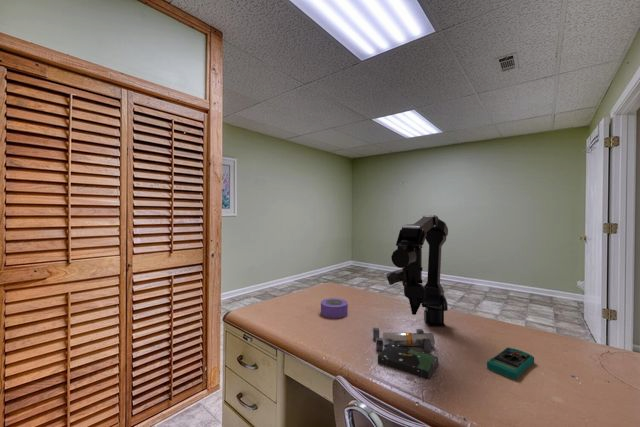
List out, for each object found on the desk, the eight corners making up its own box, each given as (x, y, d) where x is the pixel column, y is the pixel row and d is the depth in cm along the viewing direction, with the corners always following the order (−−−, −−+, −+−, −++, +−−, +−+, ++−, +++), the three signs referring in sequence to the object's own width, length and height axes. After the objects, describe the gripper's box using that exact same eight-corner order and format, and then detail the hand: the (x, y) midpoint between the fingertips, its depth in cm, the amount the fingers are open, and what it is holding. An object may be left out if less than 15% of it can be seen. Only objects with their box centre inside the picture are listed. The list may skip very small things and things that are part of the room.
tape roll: (352, 312, 125) (352, 300, 125) (339, 320, 115) (339, 308, 115) (329, 307, 131) (329, 296, 131) (315, 315, 121) (315, 303, 121)
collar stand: (422, 338, 98) (422, 328, 98) (431, 352, 88) (431, 341, 88) (372, 337, 99) (372, 327, 99) (376, 351, 89) (376, 340, 89)
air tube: (430, 341, 95) (431, 330, 94) (434, 349, 91) (435, 338, 90) (382, 340, 96) (383, 329, 95) (384, 348, 92) (384, 337, 91)
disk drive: (377, 365, 82) (430, 382, 74) (377, 355, 82) (429, 371, 74) (389, 351, 91) (438, 364, 83) (389, 342, 91) (438, 354, 83)
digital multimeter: (535, 364, 82) (535, 354, 82) (515, 382, 74) (515, 371, 74) (507, 354, 88) (507, 344, 88) (485, 370, 80) (485, 359, 80)
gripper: (387, 257, 104) (388, 299, 104) (387, 267, 86) (387, 318, 86) (419, 258, 102) (419, 301, 102) (425, 269, 83) (425, 321, 84)
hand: (412, 309), depth 93 cm, fingers open, 9 cm apart
